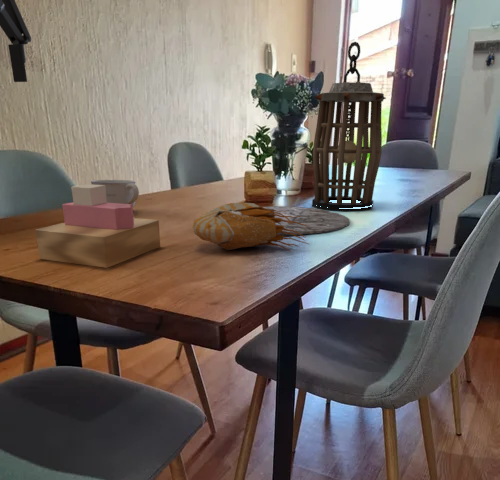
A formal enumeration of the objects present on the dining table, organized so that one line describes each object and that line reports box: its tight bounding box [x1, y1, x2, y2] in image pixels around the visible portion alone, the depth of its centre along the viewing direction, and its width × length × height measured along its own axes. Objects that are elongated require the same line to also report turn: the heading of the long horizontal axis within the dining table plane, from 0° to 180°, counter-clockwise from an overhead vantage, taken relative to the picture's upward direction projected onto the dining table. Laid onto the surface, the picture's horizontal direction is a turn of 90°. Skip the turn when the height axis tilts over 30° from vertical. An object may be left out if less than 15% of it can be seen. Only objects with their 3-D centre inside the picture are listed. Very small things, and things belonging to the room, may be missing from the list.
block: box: [35, 217, 161, 269], centre depth 90 cm, size 14×16×5 cm
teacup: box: [90, 179, 140, 208], centre depth 127 cm, size 14×11×8 cm
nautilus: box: [192, 202, 311, 252], centre depth 93 cm, size 8×22×15 cm
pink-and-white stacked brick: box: [61, 183, 135, 230], centre depth 88 cm, size 12×5×6 cm, turn 67°
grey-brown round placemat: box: [264, 205, 351, 237], centre depth 121 cm, size 33×35×1 cm
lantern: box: [311, 41, 387, 213], centre depth 133 cm, size 19×19×40 cm
